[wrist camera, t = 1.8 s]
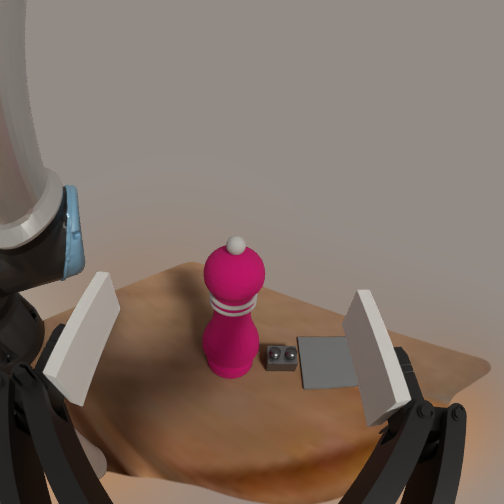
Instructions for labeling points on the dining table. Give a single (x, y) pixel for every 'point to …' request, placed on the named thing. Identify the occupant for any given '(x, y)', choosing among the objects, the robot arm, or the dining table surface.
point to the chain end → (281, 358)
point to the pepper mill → (232, 308)
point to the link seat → (326, 363)
